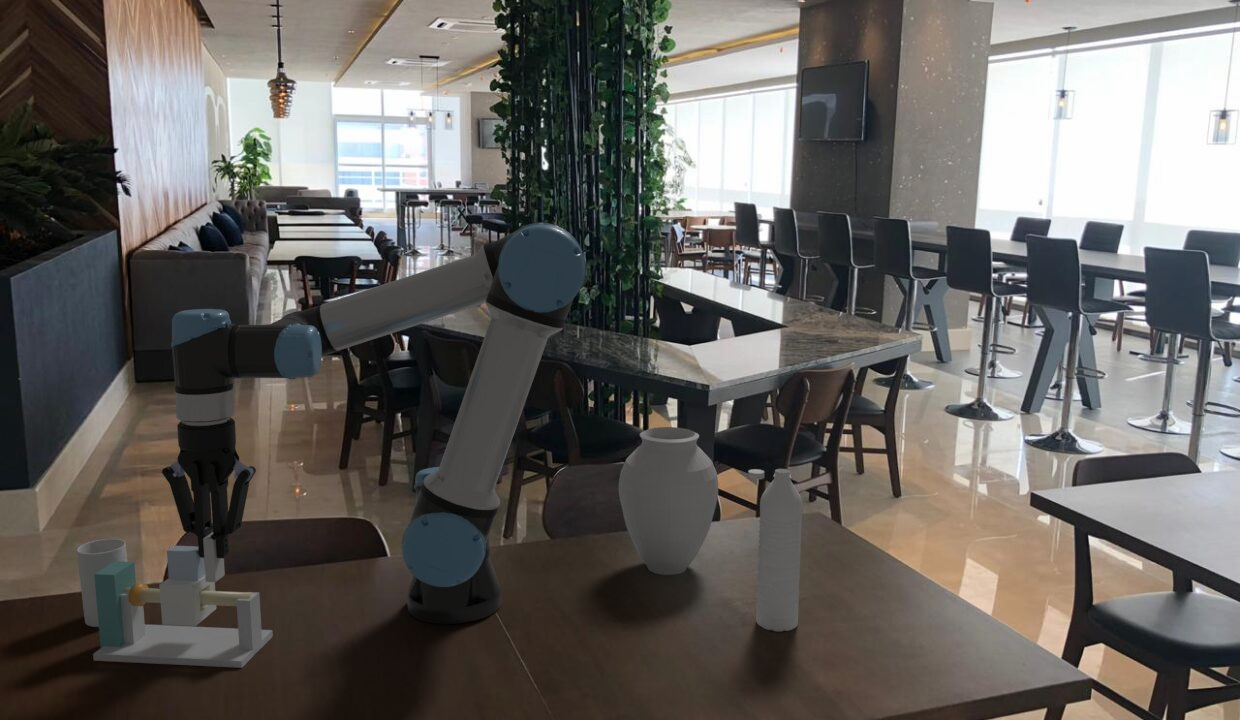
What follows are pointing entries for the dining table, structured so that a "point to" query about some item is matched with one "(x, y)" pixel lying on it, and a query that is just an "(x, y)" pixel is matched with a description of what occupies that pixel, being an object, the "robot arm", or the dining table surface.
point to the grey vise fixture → (171, 644)
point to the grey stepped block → (184, 588)
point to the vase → (668, 498)
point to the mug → (96, 570)
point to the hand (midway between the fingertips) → (215, 578)
